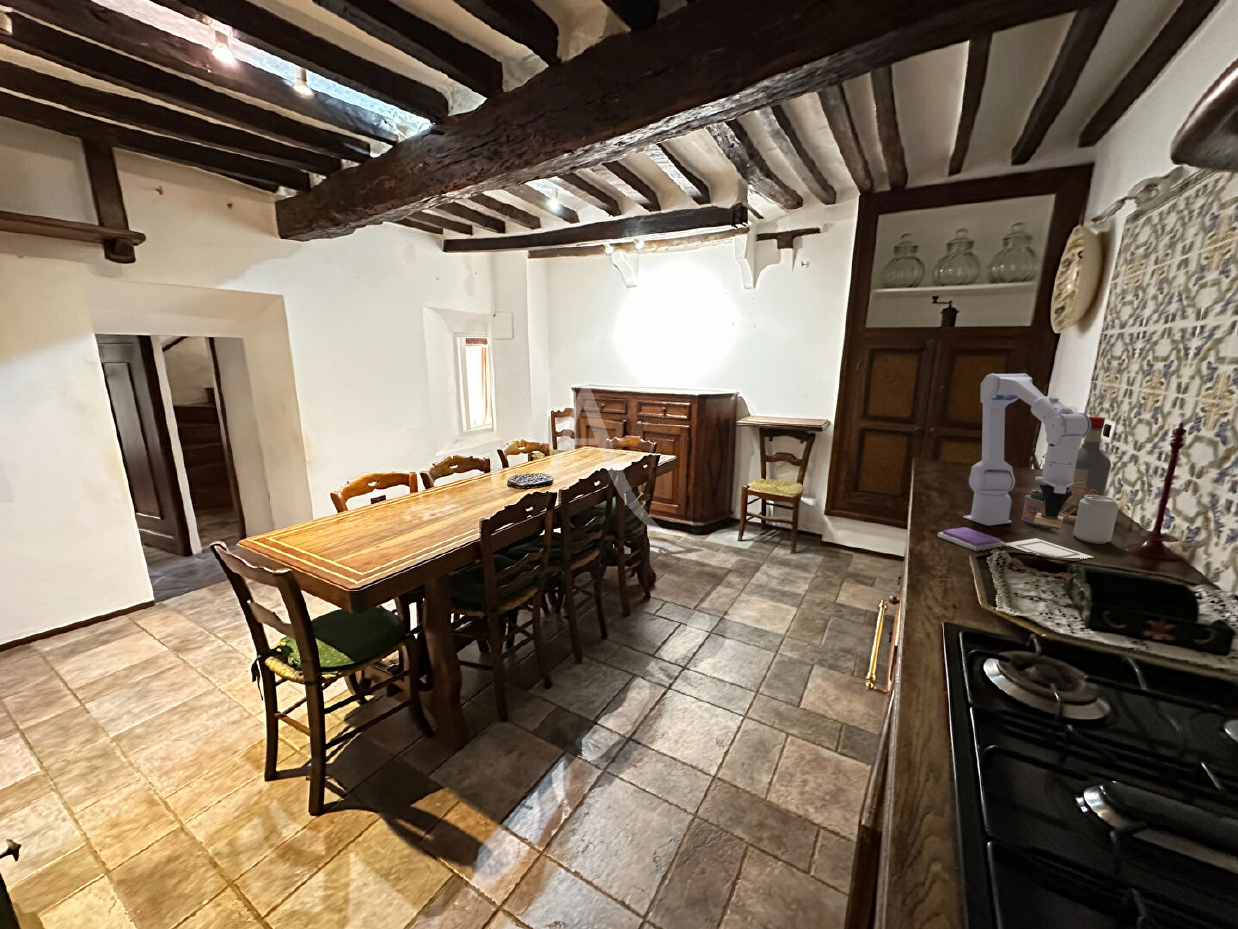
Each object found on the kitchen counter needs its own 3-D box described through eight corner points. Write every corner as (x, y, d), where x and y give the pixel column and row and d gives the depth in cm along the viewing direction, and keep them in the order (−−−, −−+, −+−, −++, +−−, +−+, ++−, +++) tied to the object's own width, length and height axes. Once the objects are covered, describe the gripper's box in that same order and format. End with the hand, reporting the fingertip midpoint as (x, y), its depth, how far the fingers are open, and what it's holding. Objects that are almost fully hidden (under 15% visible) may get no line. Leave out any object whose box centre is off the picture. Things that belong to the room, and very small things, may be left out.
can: (1100, 536, 133) (1109, 494, 130) (1117, 546, 126) (1127, 502, 123) (1066, 533, 135) (1075, 492, 133) (1081, 543, 128) (1090, 500, 126)
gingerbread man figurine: (1053, 519, 147) (1061, 481, 144) (1053, 516, 150) (1060, 478, 147) (1094, 525, 141) (1102, 486, 139) (1092, 521, 144) (1100, 483, 142)
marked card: (1035, 539, 131) (1036, 537, 131) (1093, 558, 119) (1093, 556, 119) (1003, 545, 128) (1003, 543, 128) (1058, 564, 116) (1059, 562, 116)
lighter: (1017, 518, 148) (1023, 487, 145) (1027, 518, 148) (1033, 487, 146) (1042, 527, 140) (1048, 494, 138) (1053, 527, 140) (1059, 494, 138)
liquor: (1072, 514, 151) (1092, 419, 144) (1051, 505, 159) (1068, 415, 153) (1105, 515, 149) (1126, 419, 143) (1082, 506, 158) (1101, 415, 151)
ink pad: (964, 532, 137) (965, 525, 136) (1004, 546, 127) (1005, 539, 126) (937, 536, 134) (938, 529, 134) (975, 551, 124) (976, 544, 123)
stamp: (1036, 520, 126) (1041, 494, 124) (1061, 525, 122) (1067, 498, 120) (1033, 524, 122) (1038, 498, 121) (1059, 529, 119) (1065, 502, 117)
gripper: (1035, 455, 126) (1026, 504, 129) (1042, 465, 115) (1032, 519, 118) (1071, 458, 122) (1061, 508, 125) (1082, 469, 111) (1071, 524, 114)
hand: (1050, 514), depth 121 cm, fingers closed on stamp, 3 cm apart
